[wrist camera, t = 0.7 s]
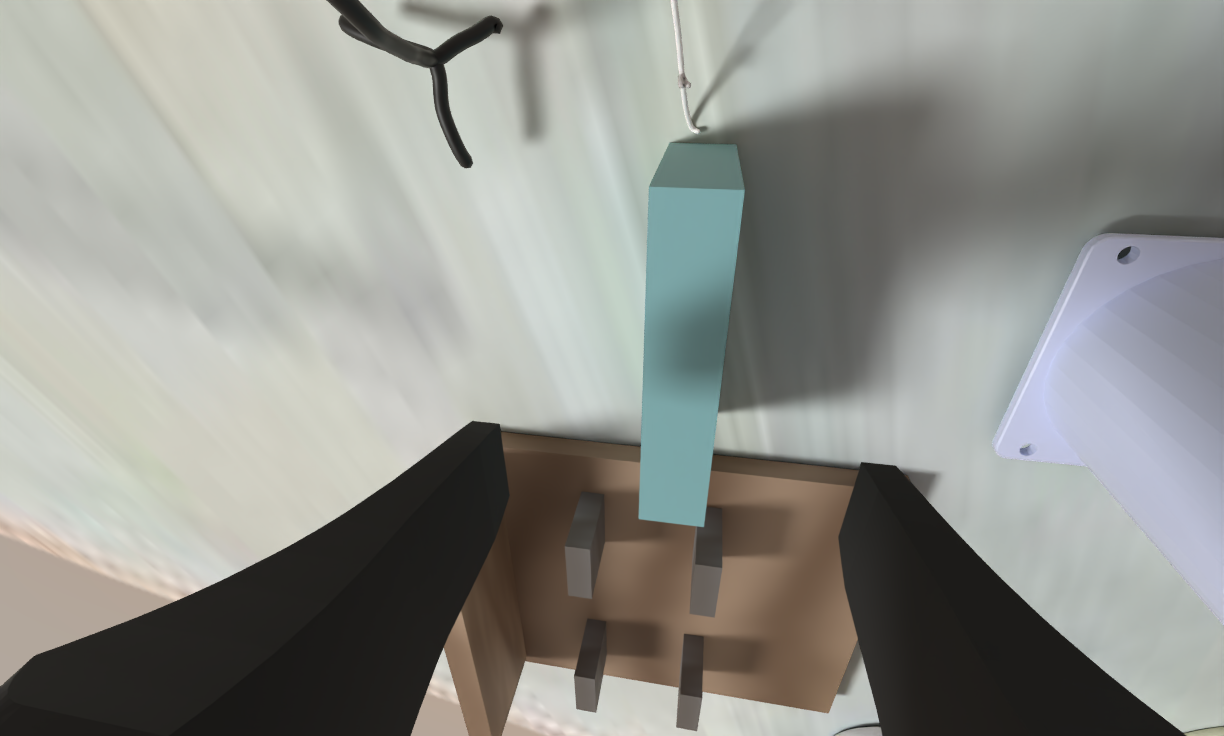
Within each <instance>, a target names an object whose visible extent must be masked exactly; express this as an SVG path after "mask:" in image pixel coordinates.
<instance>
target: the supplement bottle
mask: <svg viewBox="0 0 1224 736" xmlns="http://www.w3.org/2000/svg"><path fill="white" fill-rule="evenodd" d="M835 736H882V731H881V727H863V728H855V729H850V730H847V731H843V732H841V733H839V734H837V735H835Z"/></svg>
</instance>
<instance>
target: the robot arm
mask: <svg viewBox="0 0 1224 736" xmlns="http://www.w3.org/2000/svg"><path fill="white" fill-rule="evenodd" d="M1130 246H1131V250H1130V252H1129V253H1128V255H1127V256H1125V257H1123V258H1121V259H1117V256H1118V254H1119V253H1120V252H1121V250H1123V249H1125V248H1126V247H1130ZM1026 444H1030V445H1029V446H1028V447H1026V448H1021V447H1022V446H1024V445H1026ZM992 446H993V449H994V450H995V452H996V453H997V454H998V455H999V456H1000V457H1003V458H1008V459H1018V460H1028V461H1038V462H1048V463H1058V464H1068V465H1078V466H1087V467H1088V469H1089V470H1090V471H1091V472H1092V473H1093V474H1094V475H1095V477H1096V478H1097V479H1098V480H1099V481H1100V482H1101V484H1102V485H1103V486H1104V487H1105V488H1106V489H1107V491H1108V492H1109V493H1110V494H1111V495H1112V496H1113V498H1114V499H1115V500H1116V501H1117V502H1118V503H1119V505H1120V506H1121V507H1122V508H1123V509H1124V510H1125V511H1126V513H1127V514H1128V515H1129V516H1130V517H1131V518H1132V520H1133V521H1134V522H1135V523H1136V524H1137V525H1138V527H1139V528H1140V529H1141V530H1142V531H1143V532H1144V534H1145V535H1146V536H1147V537H1148V538H1149V539H1150V541H1151V542H1152V543H1153V544H1154V545H1155V546H1156V547H1157V549H1158V550H1159V551H1160V552H1161V553H1162V554H1163V556H1164V557H1165V558H1166V559H1167V560H1168V561H1169V563H1170V564H1171V565H1172V566H1173V567H1174V568H1175V570H1176V571H1177V572H1178V573H1179V574H1180V575H1181V577H1182V578H1183V579H1184V580H1185V581H1186V582H1187V583H1188V585H1189V586H1190V587H1191V588H1192V589H1193V590H1194V592H1195V593H1196V594H1197V595H1198V596H1199V597H1200V599H1201V600H1202V601H1203V602H1204V603H1205V604H1206V606H1207V607H1208V608H1209V609H1210V610H1211V611H1212V613H1213V614H1214V615H1215V616H1216V617H1217V618H1218V619H1219V621H1220V622H1221V623H1222V624H1223V625H1224V238H1212V237H1189V236H1166V235H1142V234H1119V233H1106V234H1100V235H1098V236H1096V237H1093V238H1092V239H1091V240H1089V241H1088V242H1087V243H1086V244H1085V245H1084V247H1083V248H1082V250H1081V252H1080V254H1079V256H1078V258H1077V260H1076V262H1075V265H1074V267H1073V269H1072V271H1071V273H1070V275H1069V278H1068V280H1067V282H1066V284H1065V286H1064V288H1063V290H1062V293H1061V295H1060V297H1059V299H1058V301H1057V303H1056V305H1055V308H1054V310H1053V312H1052V314H1051V316H1050V318H1049V320H1048V323H1047V325H1046V327H1045V329H1044V331H1043V333H1042V336H1041V338H1040V340H1039V342H1038V344H1037V346H1036V348H1035V351H1034V353H1033V355H1032V357H1031V359H1030V361H1029V363H1028V366H1027V368H1026V370H1025V372H1024V374H1023V376H1022V378H1021V381H1020V383H1019V385H1018V387H1017V389H1016V391H1015V394H1014V396H1013V398H1012V400H1011V402H1010V404H1009V406H1008V409H1007V411H1006V413H1005V415H1004V417H1003V419H1002V421H1001V424H1000V426H999V428H998V430H997V432H996V434H995V437H994V439H993V441H992ZM509 496H510V494H509V487H508V480H507V473H506V465H505V458H504V451H503V444H502V437H501V430H500V424H495V423H486V422H476V421H472V422H470V423H469V424H467V425H466V426H465V427H463V428H462V429H461V430H459V431H458V432H457V433H455V434H454V435H453V436H451V437H450V438H449V439H447V440H446V441H445V442H444V443H442V444H441V445H440V446H438V447H437V448H436V449H434V450H433V451H432V452H431V453H429V454H428V455H427V456H425V457H424V458H423V459H421V460H420V461H419V462H417V463H416V464H415V465H413V466H412V467H410V468H409V469H408V470H406V471H405V472H404V473H402V474H401V475H400V476H398V477H397V478H396V479H394V480H393V481H391V482H390V483H389V484H387V485H386V486H384V487H383V488H381V489H380V490H378V491H377V492H375V493H374V494H372V495H371V496H369V497H368V498H367V499H365V500H364V501H362V502H361V503H359V504H358V505H356V506H355V507H353V508H352V509H350V510H349V511H347V512H346V513H344V514H343V515H341V516H340V517H338V518H336V519H335V520H333V521H331V522H330V523H328V524H327V525H325V526H323V527H322V528H320V529H318V530H316V531H315V532H313V533H311V534H310V535H308V536H306V537H304V538H303V539H301V540H299V541H297V542H296V543H294V544H292V545H290V546H288V547H287V548H285V549H283V550H281V551H279V552H277V553H275V554H273V555H271V556H269V557H267V558H265V559H263V560H261V561H259V562H257V563H255V564H254V565H252V566H250V567H248V568H246V569H244V570H242V571H240V572H238V573H236V574H234V575H232V576H230V577H228V578H226V579H224V580H222V581H220V582H217V583H215V584H213V585H211V586H209V587H206V588H204V589H202V590H200V591H198V592H195V593H193V594H191V595H189V596H187V597H184V598H182V599H180V600H177V601H175V602H173V603H170V604H168V605H166V606H163V607H161V608H158V609H156V610H154V611H152V612H149V613H147V614H144V615H142V616H139V617H137V618H134V619H132V620H129V621H127V622H124V623H121V624H119V625H116V626H113V627H111V628H108V629H105V630H103V631H100V632H98V633H95V634H92V635H89V636H87V637H84V638H81V639H79V640H76V641H74V642H71V643H68V644H65V645H63V646H60V647H57V648H55V649H52V650H49V651H46V652H43V653H41V654H38V655H36V656H34V657H33V658H32V659H30V660H29V661H28V662H27V663H26V664H25V665H24V666H23V667H22V668H21V669H19V671H17V672H16V673H15V674H14V675H13V676H12V677H11V678H10V679H8V680H7V681H6V682H5V683H4V684H3V685H2V686H0V736H411V733H412V730H413V727H414V724H415V721H416V718H417V716H418V713H419V710H420V707H421V704H422V702H423V699H424V697H425V694H426V691H427V689H428V686H429V683H430V680H431V678H432V675H433V672H434V670H435V667H436V664H437V662H438V659H439V657H440V655H441V652H442V650H443V648H444V645H445V643H446V641H447V639H448V636H449V634H450V632H451V630H452V628H453V626H454V624H455V622H456V620H457V618H458V616H459V614H460V612H461V610H462V607H463V605H464V603H465V601H466V599H467V597H468V595H469V593H470V591H471V589H472V587H473V585H474V583H475V581H476V579H477V577H478V575H479V572H480V570H481V568H482V566H483V564H484V562H485V560H486V558H487V556H488V554H489V552H490V549H491V547H492V545H493V543H494V541H495V538H496V536H497V533H498V530H499V527H500V524H501V521H502V518H503V515H504V512H505V509H506V506H507V503H508V500H509ZM838 540H839V548H840V557H841V565H842V572H843V579H844V586H845V591H846V595H847V599H848V603H849V607H850V610H851V614H852V618H853V622H854V626H855V630H856V634H857V637H858V641H859V645H860V649H861V652H862V656H863V660H864V664H865V667H866V671H867V675H868V679H869V682H870V686H871V690H872V694H873V698H874V701H875V705H876V709H877V713H878V718H879V722H880V727H881V731H882V736H1186V735H1185V734H1184V733H1182V732H1181V731H1180V730H1178V729H1177V728H1176V727H1174V726H1173V725H1172V724H1171V723H1169V722H1168V721H1167V720H1165V719H1164V718H1163V717H1161V716H1160V715H1159V714H1158V713H1156V712H1155V711H1154V710H1152V709H1151V708H1150V707H1148V706H1147V705H1146V704H1145V703H1143V702H1142V701H1141V700H1139V699H1138V698H1137V697H1135V696H1134V695H1133V694H1132V693H1131V692H1129V691H1128V690H1127V689H1126V688H1124V687H1123V686H1122V685H1121V684H1119V683H1118V682H1117V681H1116V680H1114V679H1113V678H1112V677H1111V676H1109V675H1108V674H1107V673H1106V672H1105V671H1103V670H1102V669H1101V668H1100V667H1099V666H1098V665H1096V664H1095V663H1094V662H1093V661H1092V660H1090V659H1089V658H1088V657H1087V656H1086V655H1085V654H1083V653H1082V652H1081V651H1080V650H1079V649H1078V648H1076V647H1075V646H1074V645H1073V644H1072V643H1071V642H1069V641H1068V640H1067V639H1066V638H1065V637H1064V636H1062V635H1061V634H1060V633H1059V632H1058V631H1057V630H1056V629H1054V628H1053V627H1052V626H1051V625H1050V624H1049V623H1048V622H1047V621H1046V620H1044V619H1043V618H1042V617H1041V616H1040V615H1039V614H1038V613H1037V612H1036V611H1035V610H1034V609H1033V608H1031V607H1030V606H1029V605H1028V604H1027V603H1026V602H1025V601H1024V600H1023V599H1022V598H1021V597H1020V596H1019V595H1018V594H1017V593H1016V592H1015V591H1014V590H1013V589H1012V588H1011V587H1009V586H1008V585H1007V584H1006V583H1005V582H1004V581H1003V580H1002V579H1001V578H1000V577H999V576H998V575H997V574H996V573H995V572H994V571H993V570H992V569H991V568H990V567H989V566H988V565H987V564H986V563H985V562H984V561H983V560H982V559H981V558H980V557H979V556H978V555H977V554H976V553H975V551H974V550H973V549H972V548H971V547H970V546H969V545H968V544H967V543H966V542H965V541H964V540H963V539H962V538H961V537H960V536H959V535H958V534H957V532H956V531H955V530H954V529H953V528H952V527H951V526H950V525H949V524H948V523H947V522H946V521H945V519H944V518H943V517H942V516H941V515H940V514H939V513H938V512H937V511H936V510H935V508H934V507H933V506H932V505H931V504H930V503H929V502H928V501H927V500H926V499H925V497H924V496H923V495H922V494H921V493H920V492H919V491H918V490H917V488H916V487H915V486H914V485H913V484H912V483H911V482H910V481H909V480H908V478H907V477H906V476H905V475H904V474H903V473H902V472H901V471H900V470H899V469H898V468H897V467H896V466H893V465H883V464H874V463H864V462H861V465H860V468H859V472H858V475H857V478H856V481H855V485H854V488H853V491H852V494H851V497H850V501H849V504H848V507H847V510H846V513H845V517H844V520H843V523H842V526H841V529H840V533H839V536H838Z"/></svg>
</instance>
